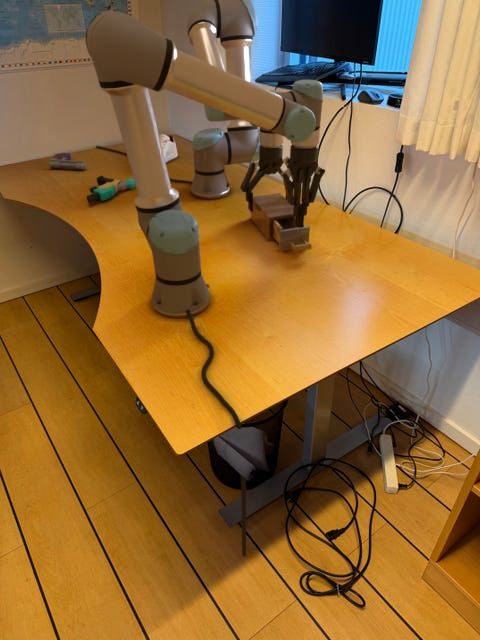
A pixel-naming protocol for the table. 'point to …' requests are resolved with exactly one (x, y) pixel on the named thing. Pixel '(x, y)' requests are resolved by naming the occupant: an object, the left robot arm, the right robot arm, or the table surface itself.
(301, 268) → the table surface
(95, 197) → the toy gun
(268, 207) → the cabinet
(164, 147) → the sneaker
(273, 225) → the drawer
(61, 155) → the toy gun
